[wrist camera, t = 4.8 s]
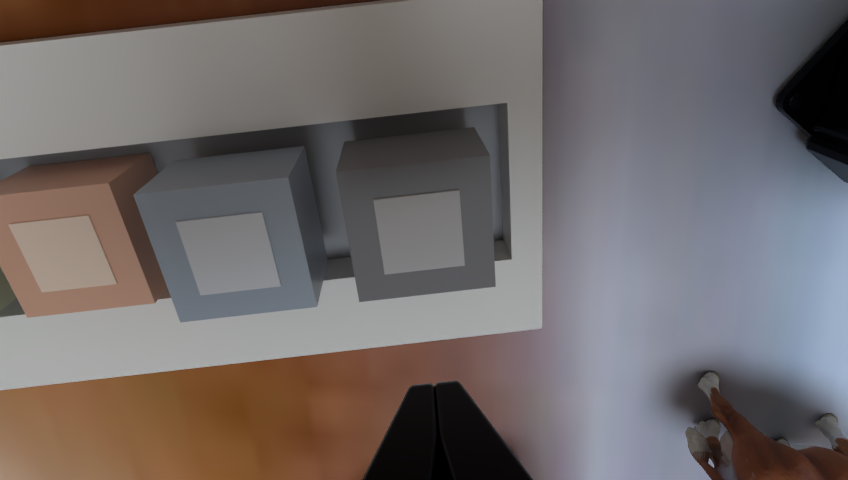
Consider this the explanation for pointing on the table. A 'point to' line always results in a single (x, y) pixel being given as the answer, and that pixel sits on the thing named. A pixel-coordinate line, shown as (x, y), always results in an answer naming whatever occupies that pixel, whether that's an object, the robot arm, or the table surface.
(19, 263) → the key terracotta
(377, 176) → the key charcoal
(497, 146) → the keypad
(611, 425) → the table surface
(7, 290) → the key sage
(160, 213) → the key slate
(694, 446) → the bull figurine
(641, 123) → the table surface
